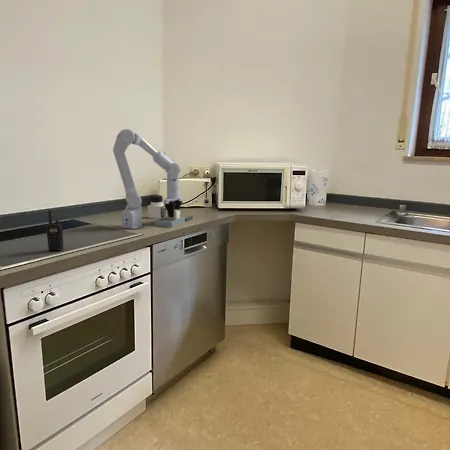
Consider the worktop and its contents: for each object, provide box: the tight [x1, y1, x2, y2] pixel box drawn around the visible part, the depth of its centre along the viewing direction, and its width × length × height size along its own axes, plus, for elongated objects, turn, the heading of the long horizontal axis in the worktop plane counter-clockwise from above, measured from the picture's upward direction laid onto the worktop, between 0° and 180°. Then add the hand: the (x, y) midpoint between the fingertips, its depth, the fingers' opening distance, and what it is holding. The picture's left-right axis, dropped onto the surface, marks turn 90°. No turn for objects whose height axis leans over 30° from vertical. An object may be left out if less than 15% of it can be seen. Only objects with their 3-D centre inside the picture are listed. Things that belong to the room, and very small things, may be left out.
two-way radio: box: [45, 209, 64, 251], centre depth 144 cm, size 6×4×15 cm
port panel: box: [154, 216, 186, 229], centre depth 188 cm, size 13×9×3 cm
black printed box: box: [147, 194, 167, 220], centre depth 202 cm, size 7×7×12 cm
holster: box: [180, 214, 194, 222], centre depth 198 cm, size 7×8×2 cm
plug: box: [166, 209, 181, 219], centre depth 190 cm, size 4×5×7 cm
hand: (173, 216), depth 190 cm, fingers open, 4 cm apart
